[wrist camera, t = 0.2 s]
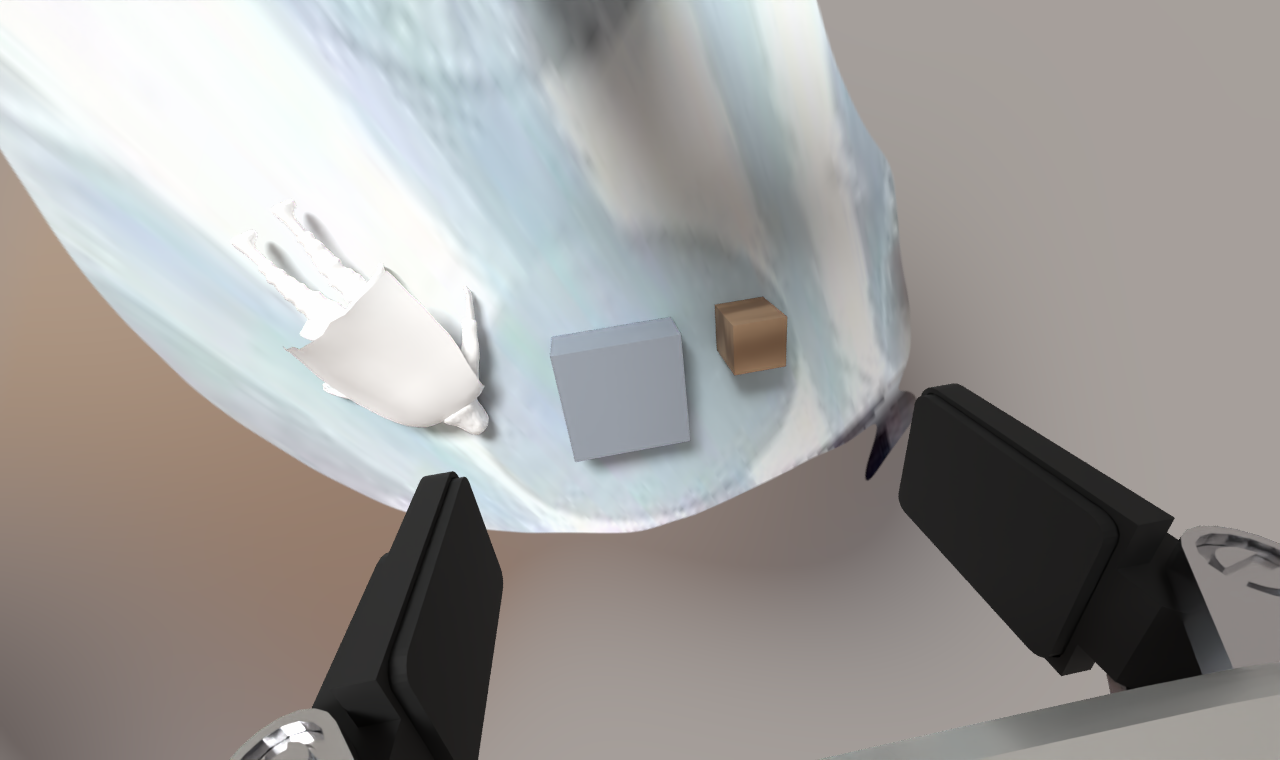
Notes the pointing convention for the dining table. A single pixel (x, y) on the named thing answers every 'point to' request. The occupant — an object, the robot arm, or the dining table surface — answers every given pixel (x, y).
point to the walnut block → (751, 335)
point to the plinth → (622, 388)
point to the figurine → (379, 340)
